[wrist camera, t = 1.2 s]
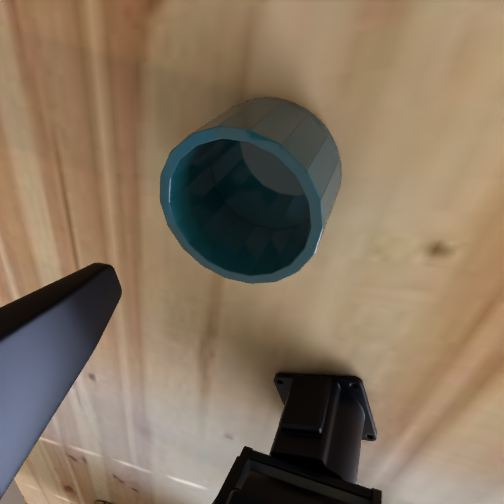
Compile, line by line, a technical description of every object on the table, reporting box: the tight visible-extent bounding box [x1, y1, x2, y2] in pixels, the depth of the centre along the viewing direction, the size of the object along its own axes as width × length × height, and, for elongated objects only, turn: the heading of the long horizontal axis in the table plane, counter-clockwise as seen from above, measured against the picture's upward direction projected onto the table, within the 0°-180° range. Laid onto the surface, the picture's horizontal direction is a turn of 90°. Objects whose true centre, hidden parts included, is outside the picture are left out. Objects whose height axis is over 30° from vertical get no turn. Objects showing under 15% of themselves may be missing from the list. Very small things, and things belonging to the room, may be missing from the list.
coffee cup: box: [160, 97, 341, 284], centre depth 19 cm, size 7×8×5 cm
